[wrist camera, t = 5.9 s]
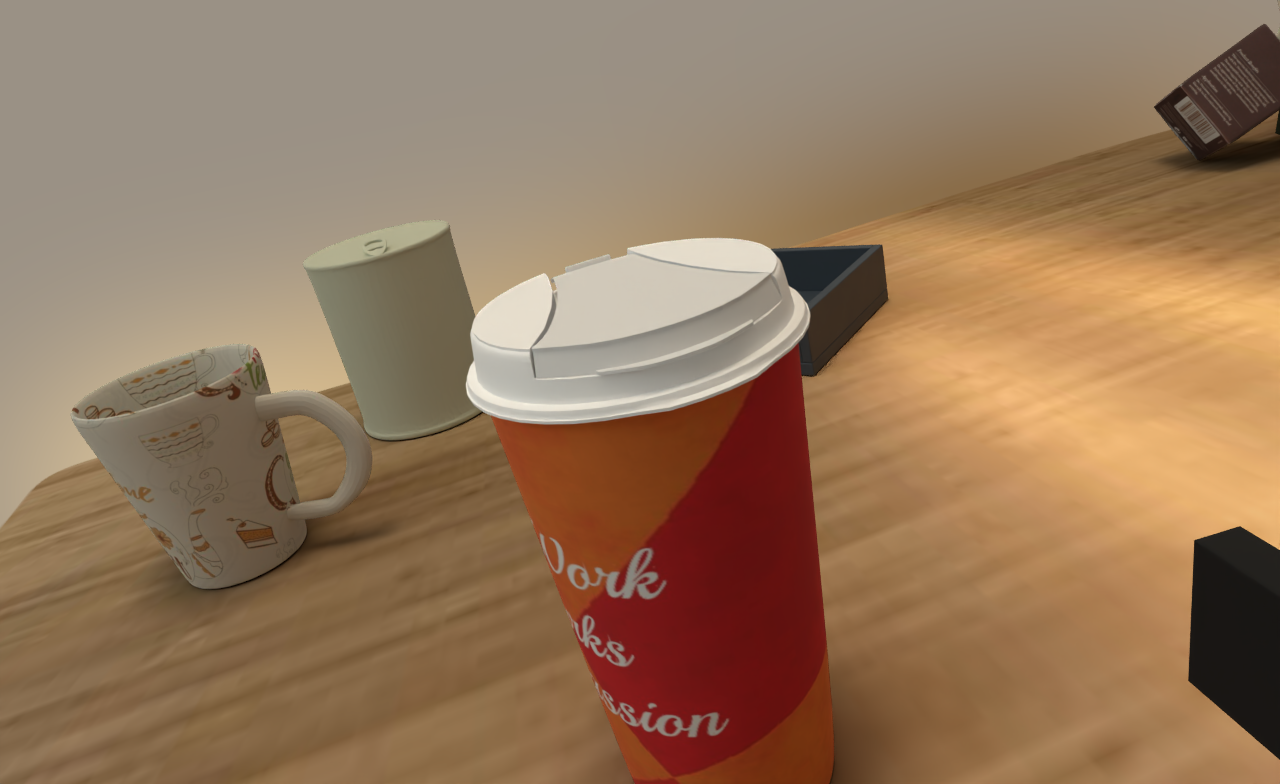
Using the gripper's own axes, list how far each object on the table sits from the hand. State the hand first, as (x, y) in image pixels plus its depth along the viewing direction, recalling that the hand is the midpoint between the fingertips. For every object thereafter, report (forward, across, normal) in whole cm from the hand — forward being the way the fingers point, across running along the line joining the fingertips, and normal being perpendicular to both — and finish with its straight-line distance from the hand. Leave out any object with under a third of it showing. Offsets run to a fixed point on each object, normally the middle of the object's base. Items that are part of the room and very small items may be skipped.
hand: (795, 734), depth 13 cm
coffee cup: (+10, 0, -11) cm, 14 cm away
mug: (+32, -18, -11) cm, 38 cm away
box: (+54, +52, -7) cm, 75 cm away
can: (+46, -10, -11) cm, 48 cm away
